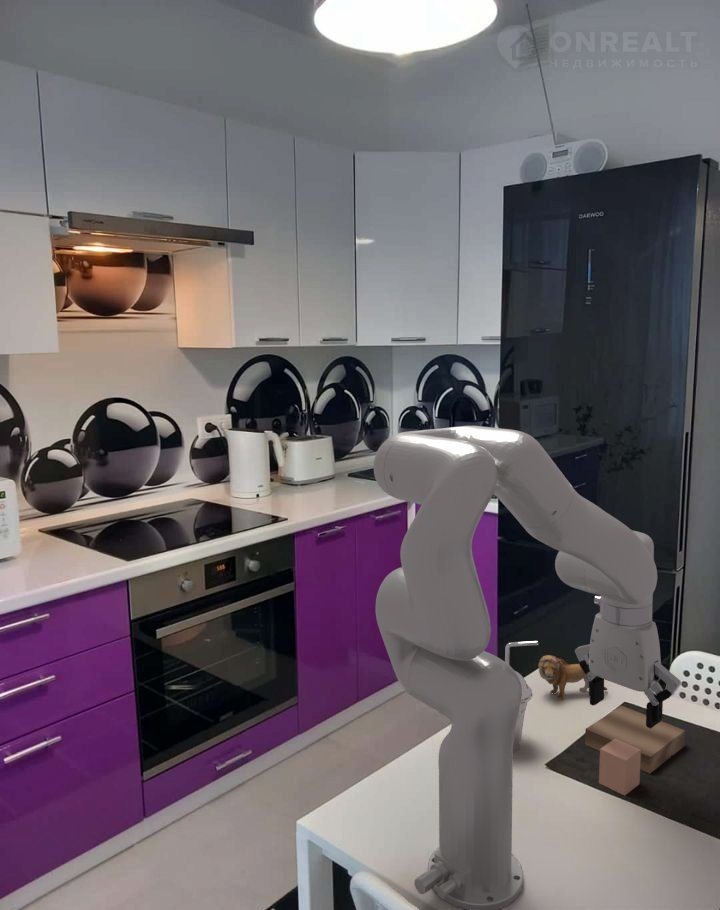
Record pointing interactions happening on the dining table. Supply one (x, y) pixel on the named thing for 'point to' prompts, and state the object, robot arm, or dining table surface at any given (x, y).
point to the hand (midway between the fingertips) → (624, 713)
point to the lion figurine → (561, 674)
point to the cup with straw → (525, 694)
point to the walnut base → (637, 736)
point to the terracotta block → (619, 766)
